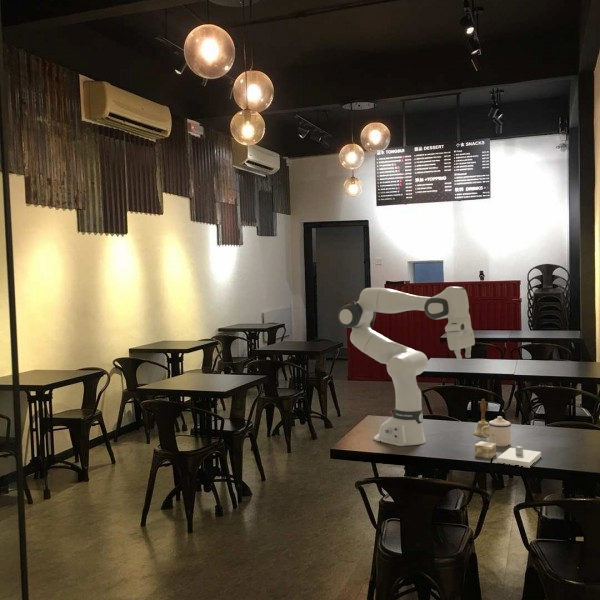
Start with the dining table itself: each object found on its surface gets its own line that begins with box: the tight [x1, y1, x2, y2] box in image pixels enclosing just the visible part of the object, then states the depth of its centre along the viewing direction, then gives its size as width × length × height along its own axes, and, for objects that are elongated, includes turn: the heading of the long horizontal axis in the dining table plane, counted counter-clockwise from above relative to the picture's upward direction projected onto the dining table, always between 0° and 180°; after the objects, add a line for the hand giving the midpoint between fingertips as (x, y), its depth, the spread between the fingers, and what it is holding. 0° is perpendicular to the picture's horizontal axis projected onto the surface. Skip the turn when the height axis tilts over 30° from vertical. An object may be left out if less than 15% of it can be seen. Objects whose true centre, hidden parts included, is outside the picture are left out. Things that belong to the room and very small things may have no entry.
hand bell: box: [473, 398, 489, 437], centre depth 281 cm, size 8×8×16 cm
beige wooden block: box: [474, 440, 497, 459], centre depth 249 cm, size 6×6×4 cm
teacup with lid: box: [482, 415, 512, 447], centre depth 265 cm, size 12×9×12 cm
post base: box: [496, 445, 542, 469], centre depth 242 cm, size 12×16×5 cm
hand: (464, 358), depth 255 cm, fingers open, 8 cm apart
